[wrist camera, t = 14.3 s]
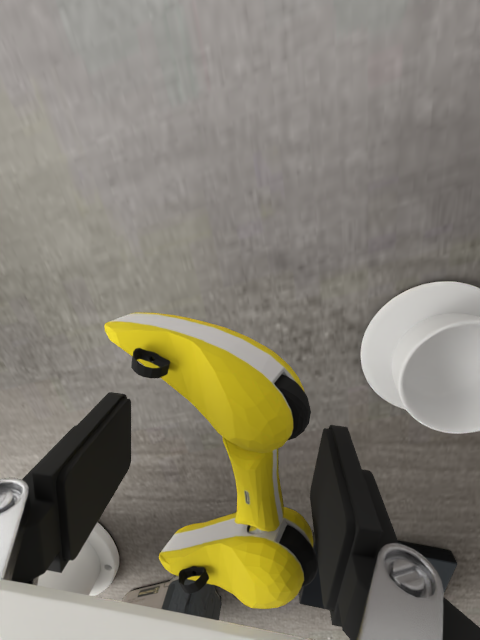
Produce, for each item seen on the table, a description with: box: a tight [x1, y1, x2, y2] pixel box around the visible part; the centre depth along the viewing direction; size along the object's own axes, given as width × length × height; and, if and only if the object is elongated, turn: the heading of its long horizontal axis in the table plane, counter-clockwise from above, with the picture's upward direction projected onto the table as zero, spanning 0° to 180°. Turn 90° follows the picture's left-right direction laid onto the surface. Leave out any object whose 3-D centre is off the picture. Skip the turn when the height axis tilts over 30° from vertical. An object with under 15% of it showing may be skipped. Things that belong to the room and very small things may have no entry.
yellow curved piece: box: [105, 313, 318, 609], centre depth 11 cm, size 10×6×4 cm, turn 6°
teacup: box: [361, 281, 480, 434], centre depth 21 cm, size 10×10×5 cm
